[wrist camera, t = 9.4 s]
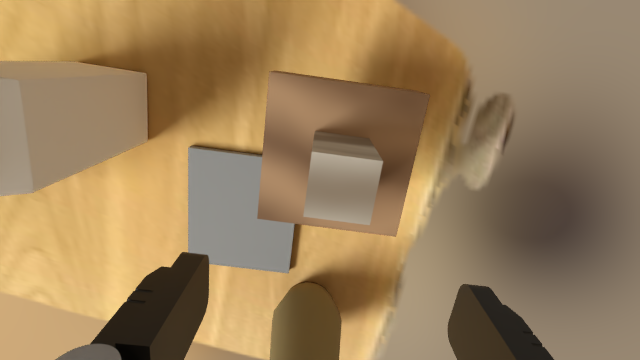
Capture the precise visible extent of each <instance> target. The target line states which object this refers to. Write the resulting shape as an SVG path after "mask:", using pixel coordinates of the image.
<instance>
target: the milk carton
mask: <svg viewBox="0 0 640 360" xmlns="http://www.w3.org/2000/svg"><path fill="white" fill-rule="evenodd" d="M147 141H148V113H147V74H146V73H143V72H136V71H130V70H124V69H118V68H112V67H105V66H99V65H93V64H87V63H80V62H73V61H0V196H6V195H16V194H27V193H34V192H35V191H37V190H40V189H42V188H44V187H46V186H49V185H51V184H53V183H55V182H58V181H60V180H62V179H64V178H67V177H69V176H71V175H73V174H76V173H78V172H80V171H82V170H85V169H87V168H89V167H91V166H94V165H96V164H98V163H100V162H103V161H105V160H107V159H109V158H112V157H114V156H116V155H118V154H121V153H123V152H125V151H127V150H130V149H132V148H134V147H136V146H139V145H141V144H143V143H145V142H147Z"/></svg>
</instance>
